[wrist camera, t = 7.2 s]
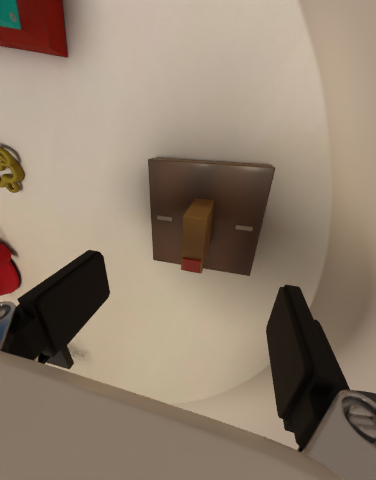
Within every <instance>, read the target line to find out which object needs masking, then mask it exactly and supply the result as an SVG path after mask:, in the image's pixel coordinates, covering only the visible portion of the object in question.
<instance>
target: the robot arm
mask: <svg viewBox="0 0 376 480" xmlns="http://www.w3.org/2000/svg"><path fill="white" fill-rule="evenodd" d="M109 294H110V290H109V285H108V279H107V274H106V268H105V263H104V257H103V255H101V253H100V252H98V251H92V250H88V251H86V252H85V253H84V254H82V255H81V256H79V257H78V258H76V259H75V260H73V261H72V262H70V263H69V264H68V265H66V266H65V267H63V268H62V269H60V270H59V271H57V272H56V273H55V274H53V275H52V276H50V277H49V278H47V279H46V280H44V281H43V282H41V283H40V284H39V285H37V286H36V287H34V288H33V289H31V290H30V291H28V292H27V293H26V294H24V295H23V296H21V297H20V298H18V301H19V303H20V304H19V305H18V306H17V307H16V305H15V304H14V303H12V302H0V480H376V403H375V402H374V401H372V400H371V399H369V398H368V397H366V396H365V395H363V394H361V393H358V392H356V391H352V390H350V389H349V386H348V385H347V382H346V380H345V377H344V375H343V373H342V371H341V369H340V366H339V364H338V362H337V360H336V358H335V355H334V353H333V351H332V349H331V346H330V345H329V342H328V340H327V338H326V335H325V333H324V331H323V329H322V327H321V325H320V323H319V322H318V321H317V320H314V319H313V317H312V315H311V312H310V310H309V308H308V305H307V303H306V301H305V298H304V296H303V294H302V291H301V289H300V287H297V286H291V285H285V286H284V287H280V288H279V291H278V294H277V297H276V300H275V303H274V306H273V309H272V312H271V315H270V318H269V321H268V324H267V329H266V335H267V342H268V349H269V356H270V363H271V370H272V377H273V384H274V391H275V398H276V405H277V412H278V416H279V418H282V419H283V422H284V428H285V430H287V431H290V432H293V433H294V434H295V439H296V443H297V444H298V445H299V448H298V449H297V450H295V449H293V448H290V447H288V446H286V445H283V444H281V443H278V442H276V441H273V440H271V439H268V438H266V437H263V436H260V435H257V434H255V433H252V432H249V431H246V430H243V429H240V428H237V427H235V426H232V425H229V424H226V423H223V422H221V421H218V420H215V419H212V418H209V417H206V416H203V415H199V414H197V413H193V412H190V411H187V410H184V409H181V408H178V407H175V406H172V405H169V404H166V403H163V402H160V401H157V400H154V399H151V398H148V397H145V396H142V395H139V394H136V393H133V392H129V391H126V390H123V389H120V388H117V387H114V386H111V385H108V384H105V383H102V382H99V381H95V380H92V379H89V378H86V377H83V376H80V375H77V374H74V373H71V372H67V371H64V370H61V369H58V368H55V367H52V366H48V365H45V364H42V363H39V362H38V357H39V355H40V354H41V353H42V352H43V354H44V355H47V356H50V357H53V358H54V356H55V355H56V354H57V353H58V352H59V351H61V350H63V349H64V348H65V347H66V346H67V344H68V343H69V342H70V341H71V340H72V339H73V338H74V336H75V335H76V334H77V333H78V332H79V331H80V329H81V328H82V327H83V326H84V325H85V324H86V323H87V321H88V320H89V319H90V318H91V317H92V316H93V314H94V313H95V312H96V311H97V310H98V309H99V308H100V306H101V305H102V304H103V303H104V302H105V301H106V299H107V298H108V297H109Z"/></svg>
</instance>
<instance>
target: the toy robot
mask: <svg viewBox="0 0 376 480" xmlns="http://www.w3.org/2000/svg"><path fill="white" fill-rule="evenodd" d="M0 46H4V47H10V48H16V49H22V50H28V51H33V52H39V53H45V54H51V55H57V56H62V57H67V48H66V38H65V28H64V18H63V7H62V0H0Z"/></svg>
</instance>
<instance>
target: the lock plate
mask: <svg viewBox="0 0 376 480" xmlns="http://www.w3.org/2000/svg"><path fill="white" fill-rule="evenodd" d="M148 166H149V184H150V203H151V222H152V240H153V259H154V260H157V261H163V262H169V263H175V264H181V258H182V232H183V215H184V214H185V213H186V211H187V210H188V208H189V207H190V206H191V204H192V203H193V202H194V200H195V199H196V198H201V199H210V200H214V208H213V217H212V226H211V234H210V243H209V248H208V252H207V255H206V259H205V263H204V266H203V268H205V269H211V270H217V271H223V272H229V273H235V274H241V275H247V276H250V273H251V268H252V264H253V260H254V256H255V251H256V247H257V243H258V239H259V234H260V230H261V226H262V222H263V218H264V213H265V209H266V205H267V201H268V196H269V192H270V188H271V184H272V180H273V175H274V171H275V167H273V166H272V165H267V164H251V163H236V162H220V161H204V160H189V159H173V158H152V159H148Z"/></svg>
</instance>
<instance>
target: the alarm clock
mask: <svg viewBox="0 0 376 480" xmlns="http://www.w3.org/2000/svg"><path fill="white" fill-rule="evenodd" d="M10 259H11V252H10V250H9V249H8V248H7V247H6V246H5V245H3V244H1V243H0V296H1V295H4V294H8V293H12V292H13V291H15V290H16V289H17V288H18V286H19V277H18V274H17V272H16V270H15V268H14V266H13V264H12V263H11V262H10V261H9V260H10Z"/></svg>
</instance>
